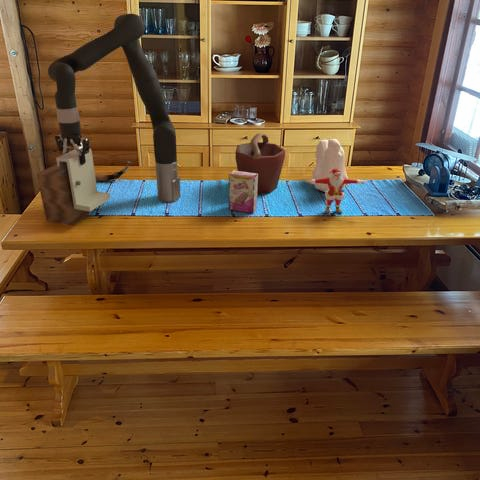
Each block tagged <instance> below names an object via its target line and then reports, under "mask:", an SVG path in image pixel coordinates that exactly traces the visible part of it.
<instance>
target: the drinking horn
mask: <svg viewBox="0 0 480 480" xmlns="http://www.w3.org/2000/svg"><path fill="white" fill-rule="evenodd" d="M131 164H132V162H131V161H129V160H128V161H127V164H126V165H125V166H124V167H123V168H122V169H121V170H119V171H114V172H113V173H111V174H100V173H96V172H95V178H96V182H97V181H103V182H110V181H113V180H115V179H116V180H117V179H120V178H121V176H122V175H124V174H125V173H126V172H127V170H128V169H129V167H130V165H131Z"/></svg>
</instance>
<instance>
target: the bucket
mask: <svg viewBox="0 0 480 480" xmlns="http://www.w3.org/2000/svg"><path fill="white" fill-rule="evenodd" d="M260 139H262V142H261V141H260ZM269 142H270V141H269V136H268V135H267V134H264V133H256V134H255V135H254V136H253V137H252V138H251V140H250V142H248V143H247V142H246V143H242V144H237V146H236V149H235V164H236V167H237V168H236V169H237V171H242V172H249V173H256V174H258V187H257V195H266V194H267V195H269V194H271V193H273V192H274V191H275V190H276V189H277V188H278V184H279V181H280V177H281V173H282V170H283V166H284V162H285V158H286V149H284V148H283V147H282V146H281V145H278V144H277V143H272V142H270V143H269Z"/></svg>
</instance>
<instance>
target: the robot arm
mask: <svg viewBox="0 0 480 480" xmlns="http://www.w3.org/2000/svg"><path fill="white" fill-rule="evenodd" d="M145 25H146V24H145V21H144V19H142V17H141V16H139V14H135V13H125V14H120V15H119V16H117V17H116V18H115V21H114V23H113V28H112V29H110V30H109V31H107V32H106V33H104V34H102V35H100V36H98V37H96V38H94V39H92V40H91V41H89V42H86V43H85V44H82V45H81V46H80V47H78V48H77V49H76V50H74V51H72V52H71V53H69V54H67V55H64V56H62V57H59V58H57V59H55V61H52V63H50V65H49V66H48V69H47V75H48V77H49V78H50V79H51V80H52V81H53V82H55V83H56V91H55V94H54V100H55V106H56V116H57V117H56V118H57V121H58V128H59V129H58V130H59V133H60V134H57V135H55V136H54V139H55V142H56V143H55V144H56V145H57V149H58V151H59V152H62V153H63V155H64V154H66V153H68V152H70V151H71V147H72V148H74V150H77V152H78V154H79V160H80V165H83V164H85V162H86V159H85V154H87V153H89V149H90V138H89V137H86V138H85V137H83V136H82V134H81V133H82V132H81V131H82V128H81V122H80V121H81V119H80V114H79V110H78V105H77V100H76V99H77V98H76V73H77V72H84V71H85V70H88V69H89V68H91V67H92V66H93V65H95V64H97V63H98V62H100V61H101V60H102V59H103V58H105V57H107V56H108V55H109V54H111V53H112V52H114V51H116V50H117V49H120V48H122V50H123V53H124V55H125V58H126V60H127V61H126V62H127V64H128V66H129V69H130V72H131V76H132V77H133V82H134V84H135V87H136V90H137V93H138V95H139V98H140V100H141V101H142V103H143V105H144V107H145V109H146V111H147V112H148V115H149V118H150V121H151V125H152V138H153V139H152V141H153V152H154V153H153V154H154V155H153V156H154V162H155V163H154V164H155V176H156V191H157V199H158V201H161V202H164V203H165V202H166V203H171V202H173V203H175V202H176V201H178V200H179V199H180V198H181V193H182V192H181V178H180V176H179V173H178V156H177V155H178V154H177V153H178V152H177V136H176V135H177V134H176V128H175V127H174V125H173V123H172V120H171V118H170V116H169V114H168V111H167V108H166V105H165V104H166V103H165V100H164V95H163V91H162V87H161V84H160V81H159V80H160V79H159V77H158V75H157V73H156V70H155V69H154V67H153V65H152V64H151V62H150V61H149V59H148V58H147V56H146V55H145V53H144V50H143V48H142V45H141V42H140V39H141V38H142V37H143V36H144V34H145V30H146V29H145V28H146V26H145Z"/></svg>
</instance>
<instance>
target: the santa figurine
mask: <svg viewBox="0 0 480 480" xmlns="http://www.w3.org/2000/svg"><path fill="white" fill-rule="evenodd" d="M331 172H333V173H332V174H333V177H330V178H323V179H313V178H312V179H309V180H305V182H304V183H308V184H311V185H312V184H313V185H314V184H315V183H321V184H328V187H329V190H328V191H326V192H325V193H324V197H325V200H326V203H325V207H326V208H325V210H324V214H330V209H331V207H332V204H333V203H334V202H335V203H334V207H335V213H337V214H342V213H343V210H341V208H340V207H341V203H342V200H343V199H344V198H345V192H343V191H342V190H343V189H344V188H343V186H344V184H348V185H350V184H351V185H352V184H356V185H361V184H362V185H365V183H367V182H366V181H365V180H360V179H358V178H357V179H354V178H348V179H347V178H342V177H341V176H340V175H341V171H340V170H339V169H333V170H332V171H331ZM331 172H329V173H331ZM342 188H343V189H342ZM341 189H342V190H341Z"/></svg>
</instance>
